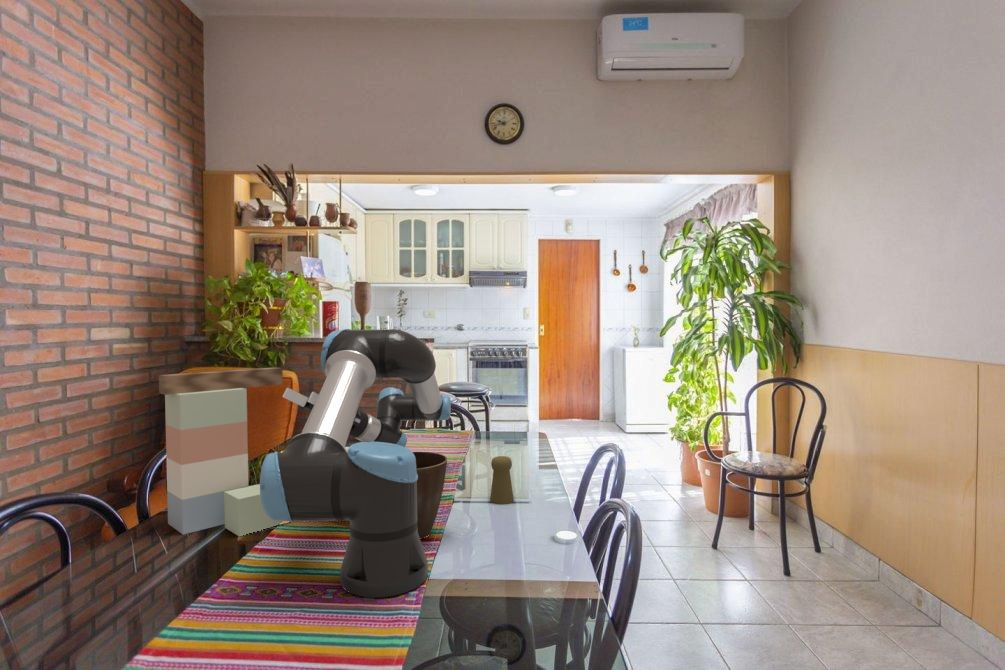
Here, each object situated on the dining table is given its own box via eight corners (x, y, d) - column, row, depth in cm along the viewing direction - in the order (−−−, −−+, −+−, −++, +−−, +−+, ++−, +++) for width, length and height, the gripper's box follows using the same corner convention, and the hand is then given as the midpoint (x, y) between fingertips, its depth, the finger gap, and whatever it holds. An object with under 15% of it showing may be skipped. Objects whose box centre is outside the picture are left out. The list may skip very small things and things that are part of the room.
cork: (514, 496, 145) (514, 454, 145) (512, 504, 139) (512, 460, 139) (491, 496, 145) (490, 453, 145) (488, 503, 139) (488, 459, 139)
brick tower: (231, 508, 138) (229, 385, 137) (249, 517, 131) (246, 388, 130) (167, 523, 128) (164, 391, 127) (182, 534, 121) (179, 395, 120)
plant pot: (435, 551, 111) (434, 470, 110) (364, 546, 114) (363, 467, 113) (456, 524, 125) (455, 452, 125) (393, 520, 128) (392, 450, 128)
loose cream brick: (277, 513, 133) (277, 480, 133) (293, 521, 128) (293, 486, 128) (224, 527, 125) (224, 491, 125) (239, 536, 119) (238, 499, 119)
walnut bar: (275, 383, 142) (275, 367, 142) (282, 384, 140) (282, 368, 140) (159, 393, 123) (158, 375, 123) (165, 394, 121) (164, 376, 121)
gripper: (380, 444, 148) (315, 413, 135) (331, 432, 165) (269, 403, 152) (392, 418, 151) (328, 384, 137) (342, 409, 168) (282, 378, 154)
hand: (297, 394), depth 145 cm, fingers open, 13 cm apart
